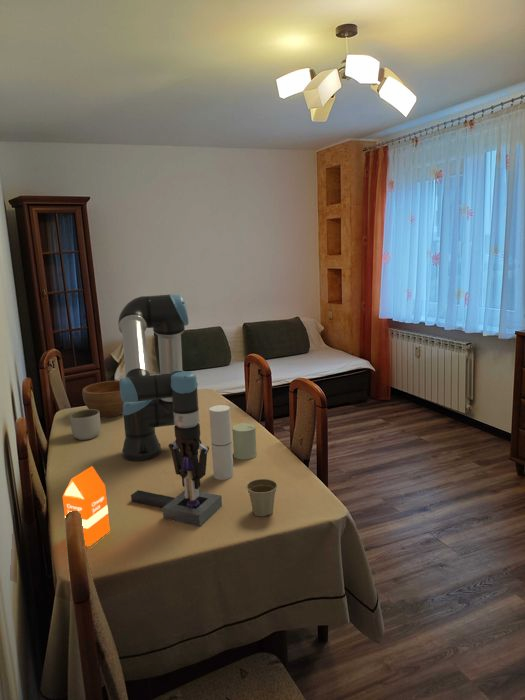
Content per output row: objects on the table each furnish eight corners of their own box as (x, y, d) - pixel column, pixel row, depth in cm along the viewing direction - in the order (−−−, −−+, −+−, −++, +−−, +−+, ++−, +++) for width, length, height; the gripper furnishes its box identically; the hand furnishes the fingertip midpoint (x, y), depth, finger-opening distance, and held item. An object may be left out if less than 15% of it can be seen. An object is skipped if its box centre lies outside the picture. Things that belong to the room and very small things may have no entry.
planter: (66, 440, 221) (63, 416, 218) (85, 430, 232) (83, 408, 230) (88, 443, 216) (86, 419, 214) (107, 433, 227) (105, 410, 225)
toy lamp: (190, 511, 151) (187, 459, 148) (181, 506, 154) (177, 455, 151) (202, 505, 155) (200, 454, 152) (193, 500, 158) (190, 450, 155)
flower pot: (246, 505, 158) (245, 479, 156) (276, 502, 159) (275, 477, 157) (248, 520, 149) (247, 493, 147) (280, 518, 149) (279, 491, 148)
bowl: (99, 407, 266) (96, 380, 263) (144, 408, 262) (142, 380, 259) (75, 424, 242) (72, 393, 239) (125, 424, 238) (122, 394, 235)
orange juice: (67, 543, 141) (59, 477, 137) (89, 527, 149) (81, 464, 145) (90, 548, 138) (82, 480, 134) (110, 531, 146) (104, 467, 142)
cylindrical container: (218, 481, 175) (213, 412, 170) (210, 473, 181) (206, 407, 176) (236, 476, 178) (233, 409, 173) (228, 469, 184) (225, 403, 180)
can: (254, 460, 192) (252, 430, 189) (230, 459, 194) (229, 429, 191) (259, 450, 200) (257, 422, 198) (236, 449, 202) (235, 421, 200)
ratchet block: (121, 508, 159) (120, 498, 158) (147, 490, 170) (146, 481, 170) (200, 526, 147) (199, 515, 146) (222, 505, 158) (221, 495, 157)
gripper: (158, 425, 149) (165, 498, 154) (201, 431, 143) (206, 507, 148) (173, 417, 156) (179, 487, 161) (214, 422, 150) (219, 495, 154)
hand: (192, 497), depth 154 cm, fingers closed on toy lamp, 2 cm apart
